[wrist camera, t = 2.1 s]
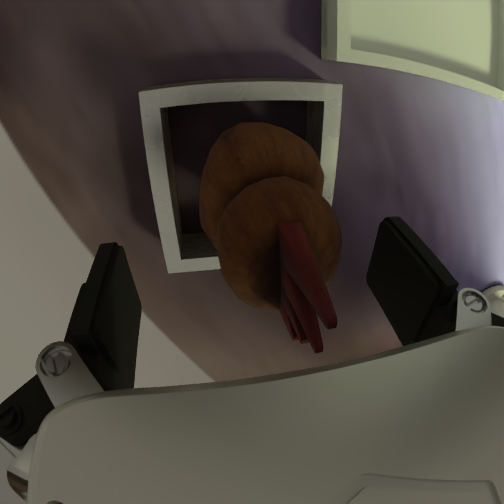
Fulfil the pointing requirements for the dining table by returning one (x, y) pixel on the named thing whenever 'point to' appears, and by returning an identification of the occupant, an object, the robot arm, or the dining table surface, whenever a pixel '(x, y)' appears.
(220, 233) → the brown lumpy elongated piece
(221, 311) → the dining table surface
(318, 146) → the white square bin
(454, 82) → the sage tray
